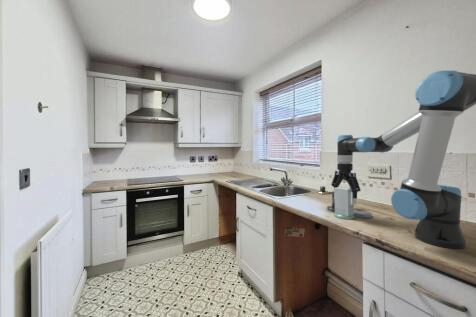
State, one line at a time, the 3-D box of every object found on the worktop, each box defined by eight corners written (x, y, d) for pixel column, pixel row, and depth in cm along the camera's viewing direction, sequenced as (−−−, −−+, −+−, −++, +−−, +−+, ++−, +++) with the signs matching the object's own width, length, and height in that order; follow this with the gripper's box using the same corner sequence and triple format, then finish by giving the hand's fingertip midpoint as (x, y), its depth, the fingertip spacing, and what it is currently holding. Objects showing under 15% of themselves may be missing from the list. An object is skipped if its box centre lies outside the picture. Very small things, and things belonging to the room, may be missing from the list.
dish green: (358, 218, 114) (358, 216, 114) (341, 220, 112) (341, 217, 112) (345, 213, 124) (345, 211, 123) (330, 214, 122) (330, 212, 122)
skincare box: (354, 215, 116) (354, 188, 115) (348, 217, 113) (348, 189, 112) (339, 211, 123) (340, 186, 122) (333, 213, 120) (334, 187, 119)
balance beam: (353, 192, 131) (353, 184, 130) (321, 196, 126) (320, 188, 126) (346, 190, 137) (346, 183, 137) (315, 194, 133) (315, 186, 133)
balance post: (344, 210, 129) (344, 194, 129) (332, 211, 127) (332, 195, 127) (335, 207, 137) (335, 191, 136) (324, 207, 135) (324, 192, 135)
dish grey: (376, 217, 116) (376, 215, 116) (360, 218, 114) (360, 216, 114) (362, 212, 126) (362, 210, 126) (347, 213, 124) (347, 210, 124)
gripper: (368, 164, 105) (368, 206, 105) (336, 162, 129) (336, 196, 130) (355, 164, 103) (355, 207, 104) (325, 162, 128) (325, 197, 128)
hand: (344, 201), depth 117 cm, fingers open, 13 cm apart
